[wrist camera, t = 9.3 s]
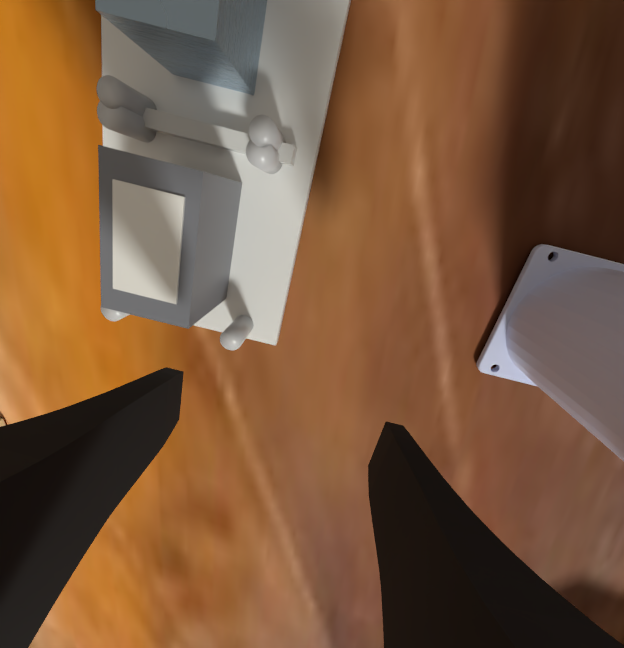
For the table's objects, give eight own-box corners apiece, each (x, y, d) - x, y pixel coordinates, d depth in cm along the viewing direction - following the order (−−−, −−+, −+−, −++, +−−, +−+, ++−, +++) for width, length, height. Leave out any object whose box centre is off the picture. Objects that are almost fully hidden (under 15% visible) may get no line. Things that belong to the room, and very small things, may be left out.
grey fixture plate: (375, -116, 12) (406, -375, 7) (278, 340, 20) (255, 390, 14) (112, -185, 12) (-69, -506, 7) (113, 299, 20) (27, 334, 14)
